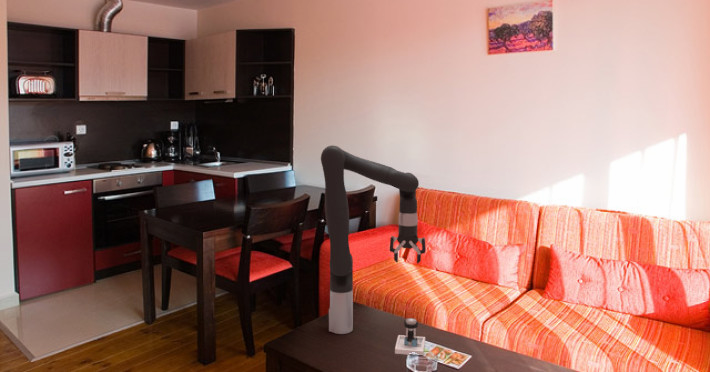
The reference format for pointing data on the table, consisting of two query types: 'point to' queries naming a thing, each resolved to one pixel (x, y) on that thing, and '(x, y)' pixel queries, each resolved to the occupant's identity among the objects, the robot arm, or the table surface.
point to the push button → (411, 332)
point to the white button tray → (407, 349)
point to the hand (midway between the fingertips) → (407, 262)
